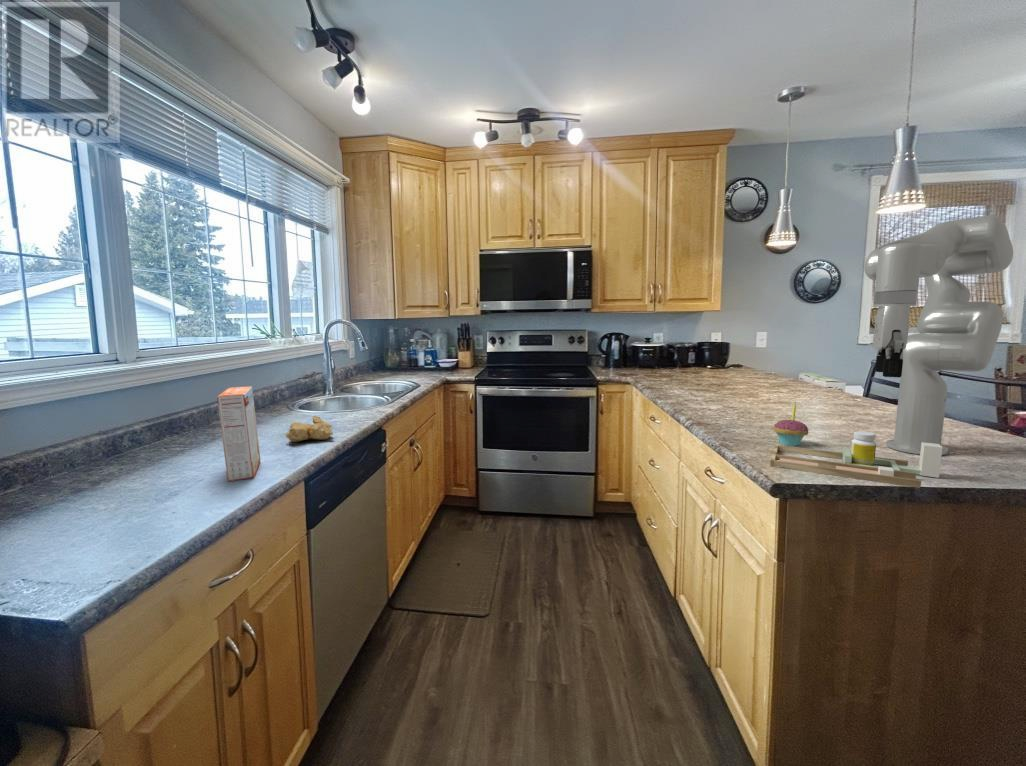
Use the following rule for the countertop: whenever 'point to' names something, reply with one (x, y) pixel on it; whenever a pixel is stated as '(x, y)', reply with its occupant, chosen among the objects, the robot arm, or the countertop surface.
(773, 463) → the lane rails
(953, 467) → the countertop surface
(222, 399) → the cracker box
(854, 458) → the supplement bottle
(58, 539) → the countertop surface
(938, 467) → the green handled square frame
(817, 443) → the countertop surface
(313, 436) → the ginger root
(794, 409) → the cupcake
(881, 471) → the broken strip
